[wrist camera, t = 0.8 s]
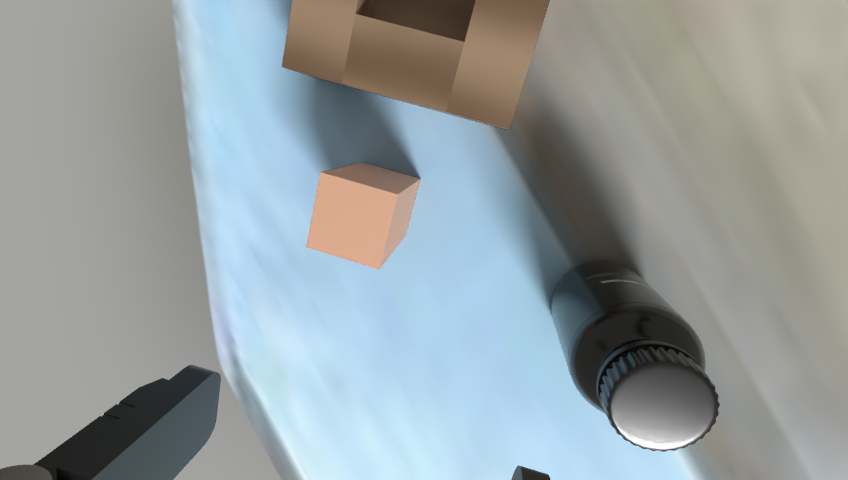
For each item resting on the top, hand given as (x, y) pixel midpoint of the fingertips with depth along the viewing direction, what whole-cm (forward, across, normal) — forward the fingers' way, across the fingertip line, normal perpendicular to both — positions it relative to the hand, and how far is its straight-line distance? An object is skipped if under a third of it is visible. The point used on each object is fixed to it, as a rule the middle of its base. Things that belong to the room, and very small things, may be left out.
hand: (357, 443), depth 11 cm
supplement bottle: (+21, -12, +1) cm, 24 cm away
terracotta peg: (+21, +5, -2) cm, 21 cm away
